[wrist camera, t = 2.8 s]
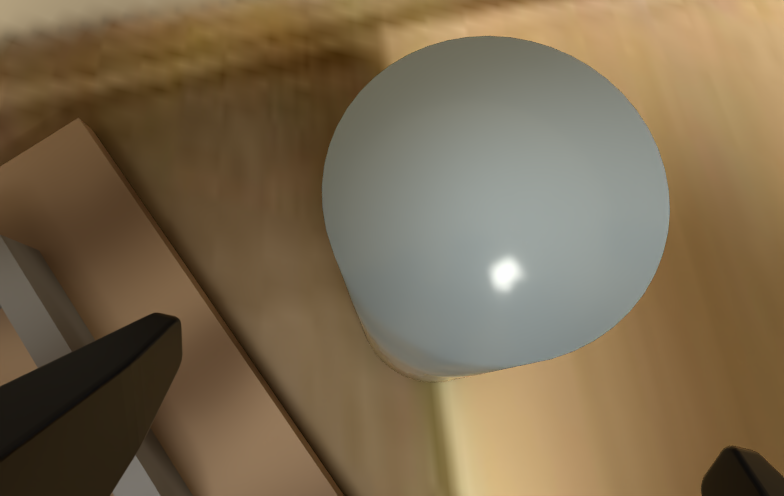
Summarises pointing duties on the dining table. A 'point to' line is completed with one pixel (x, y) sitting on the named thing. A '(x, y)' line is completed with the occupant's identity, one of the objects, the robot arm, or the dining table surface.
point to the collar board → (126, 305)
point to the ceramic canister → (492, 207)
